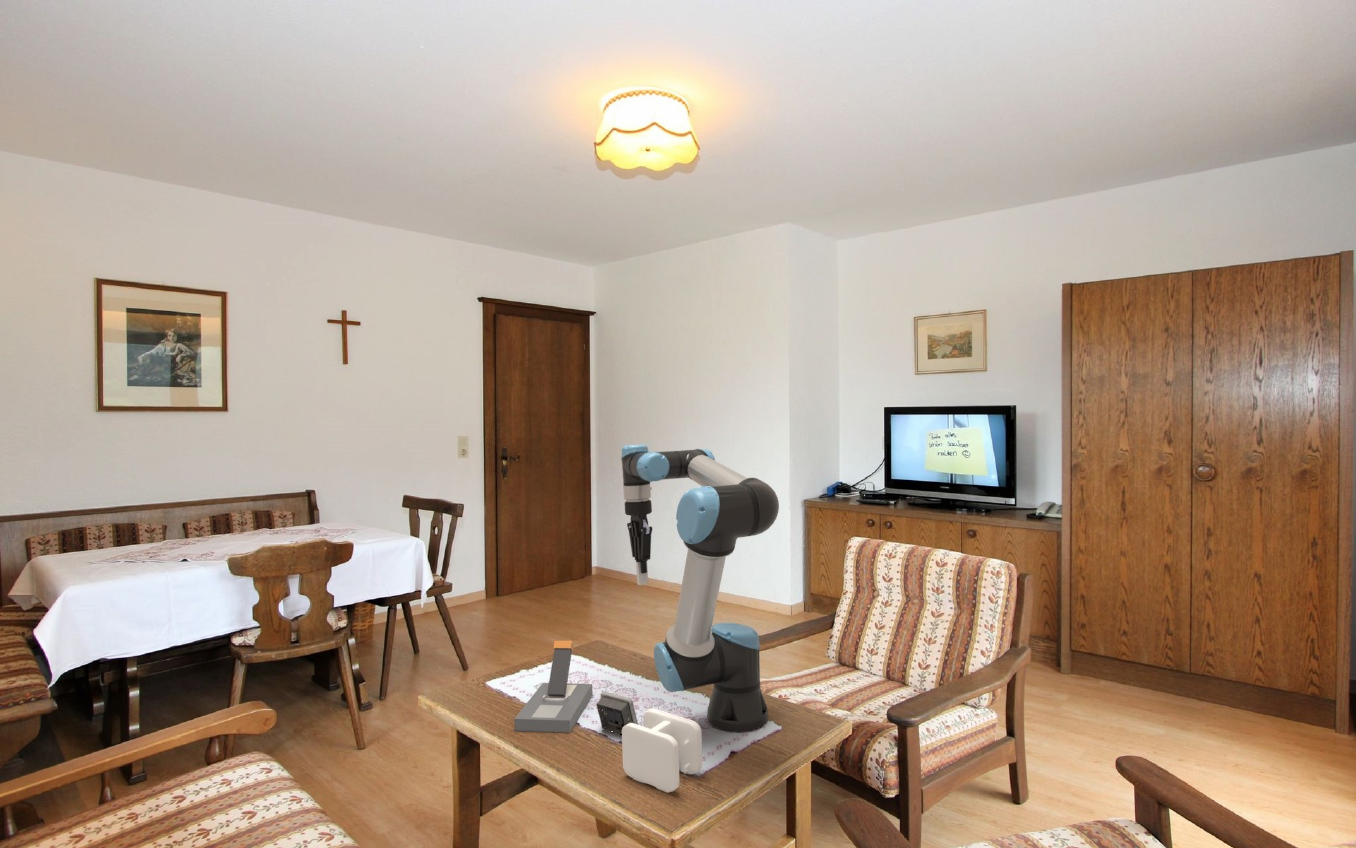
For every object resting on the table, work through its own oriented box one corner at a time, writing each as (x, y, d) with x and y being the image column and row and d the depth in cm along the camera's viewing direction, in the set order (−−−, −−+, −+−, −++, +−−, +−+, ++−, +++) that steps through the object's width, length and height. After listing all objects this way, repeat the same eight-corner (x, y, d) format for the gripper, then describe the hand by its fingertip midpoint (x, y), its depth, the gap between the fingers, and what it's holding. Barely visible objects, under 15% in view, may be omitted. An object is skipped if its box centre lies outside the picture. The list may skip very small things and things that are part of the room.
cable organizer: (619, 776, 150) (617, 722, 150) (650, 755, 158) (649, 704, 158) (675, 798, 141) (673, 741, 141) (705, 775, 149) (703, 721, 149)
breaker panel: (570, 732, 170) (569, 716, 170) (514, 731, 172) (514, 714, 172) (592, 694, 192) (592, 680, 192) (543, 693, 194) (542, 679, 194)
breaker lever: (564, 694, 181) (571, 640, 190) (546, 693, 182) (554, 640, 190) (566, 696, 183) (574, 644, 192) (548, 696, 184) (557, 643, 192)
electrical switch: (640, 731, 170) (636, 695, 169) (627, 742, 166) (623, 705, 164) (609, 723, 175) (606, 688, 174) (596, 733, 171) (592, 697, 170)
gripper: (659, 500, 192) (664, 586, 192) (641, 497, 203) (646, 578, 204) (633, 503, 189) (639, 590, 189) (617, 499, 200) (621, 582, 200)
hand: (642, 584), depth 196 cm, fingers closed
